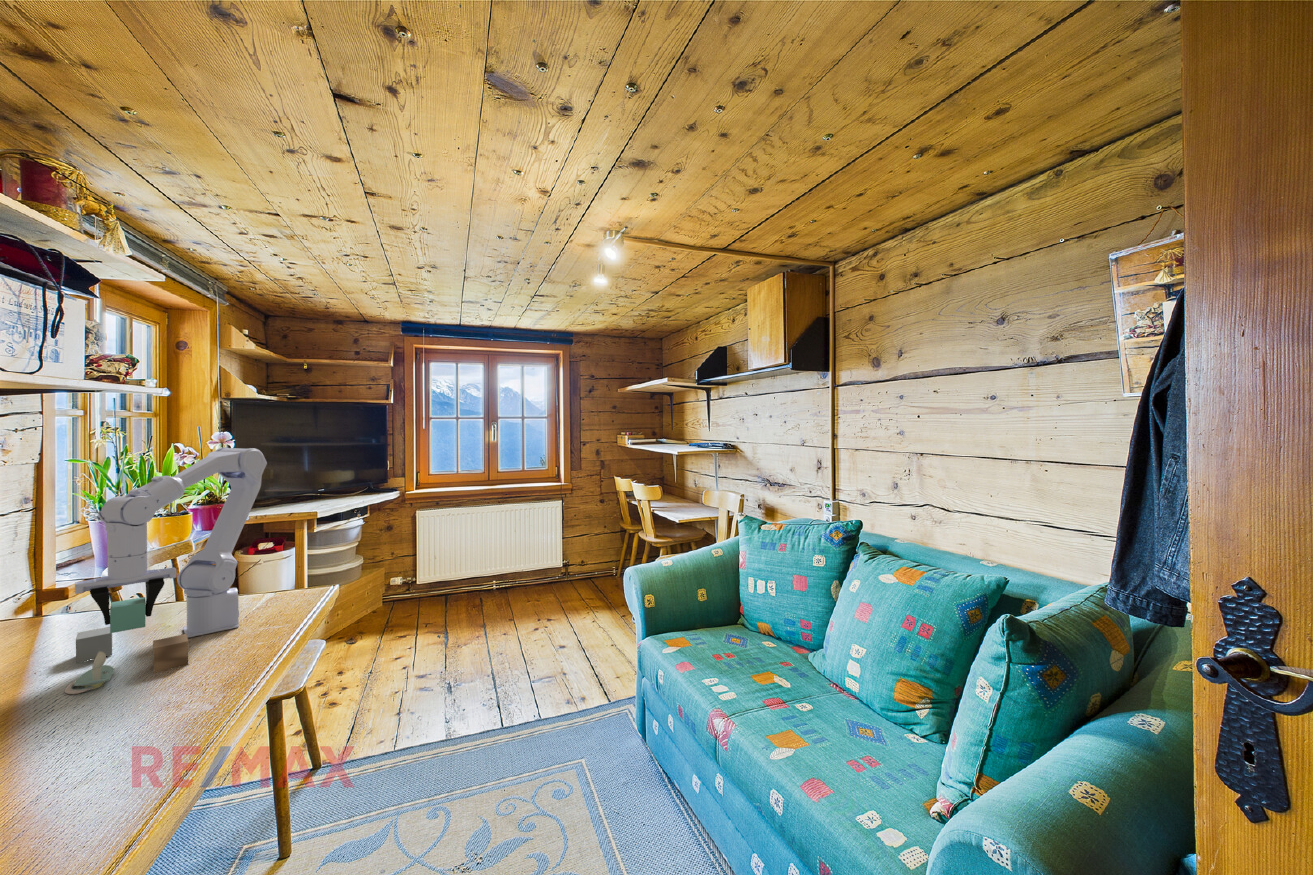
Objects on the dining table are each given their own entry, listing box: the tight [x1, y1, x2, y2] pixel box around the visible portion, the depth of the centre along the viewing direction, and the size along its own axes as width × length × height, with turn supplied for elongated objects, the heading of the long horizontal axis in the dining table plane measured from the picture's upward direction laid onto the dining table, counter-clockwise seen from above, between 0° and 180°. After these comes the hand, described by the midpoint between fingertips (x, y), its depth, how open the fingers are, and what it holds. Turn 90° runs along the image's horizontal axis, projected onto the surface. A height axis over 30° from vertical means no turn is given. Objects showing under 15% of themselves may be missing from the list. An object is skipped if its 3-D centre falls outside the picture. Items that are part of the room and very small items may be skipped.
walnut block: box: [152, 633, 189, 674], centre depth 104 cm, size 5×5×5 cm
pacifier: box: [64, 652, 115, 695], centre depth 95 cm, size 7×6×6 cm
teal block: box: [109, 596, 146, 634], centre depth 106 cm, size 5×5×5 cm
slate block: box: [75, 626, 113, 664], centre depth 107 cm, size 5×5×5 cm
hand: (128, 619), depth 106 cm, fingers closed on teal block, 5 cm apart
